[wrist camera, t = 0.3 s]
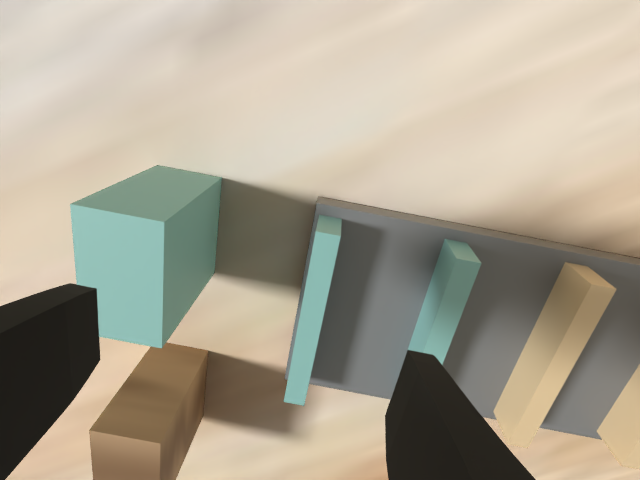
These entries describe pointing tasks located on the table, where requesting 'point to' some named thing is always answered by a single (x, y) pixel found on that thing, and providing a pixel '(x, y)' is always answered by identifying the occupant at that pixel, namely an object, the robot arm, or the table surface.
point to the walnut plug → (151, 417)
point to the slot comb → (473, 321)
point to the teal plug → (147, 250)
